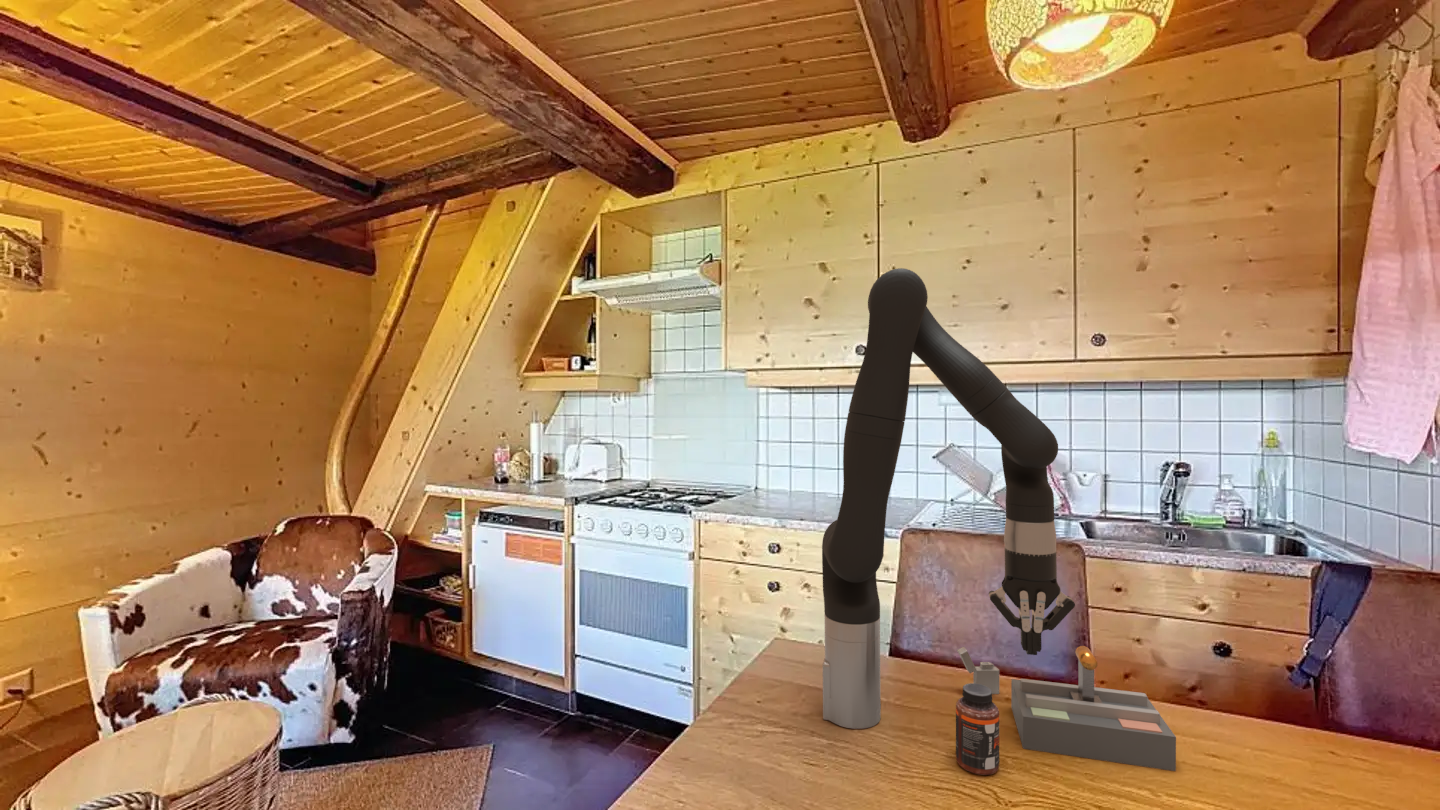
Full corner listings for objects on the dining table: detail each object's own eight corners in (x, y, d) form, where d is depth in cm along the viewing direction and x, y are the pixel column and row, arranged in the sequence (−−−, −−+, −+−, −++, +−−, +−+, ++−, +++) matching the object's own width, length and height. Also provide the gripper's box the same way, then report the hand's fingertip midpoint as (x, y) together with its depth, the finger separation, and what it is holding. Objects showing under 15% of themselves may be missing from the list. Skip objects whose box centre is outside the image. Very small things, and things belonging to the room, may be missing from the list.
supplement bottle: (1004, 779, 89) (1003, 700, 89) (959, 775, 90) (959, 696, 90) (994, 755, 95) (994, 681, 94) (952, 751, 96) (952, 678, 96)
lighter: (995, 689, 115) (995, 646, 115) (999, 694, 114) (999, 650, 114) (956, 689, 116) (956, 646, 115) (960, 694, 114) (960, 650, 114)
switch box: (1022, 748, 96) (1022, 706, 96) (1011, 707, 109) (1011, 669, 109) (1175, 771, 90) (1176, 726, 90) (1145, 725, 103) (1145, 685, 103)
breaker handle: (1074, 708, 98) (1074, 654, 98) (1069, 696, 102) (1069, 644, 102) (1103, 712, 97) (1104, 657, 97) (1097, 699, 101) (1097, 647, 101)
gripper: (988, 550, 100) (989, 658, 100) (1081, 555, 96) (1082, 667, 96) (983, 539, 107) (984, 640, 107) (1070, 543, 103) (1071, 648, 103)
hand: (1031, 652), depth 102 cm, fingers closed
